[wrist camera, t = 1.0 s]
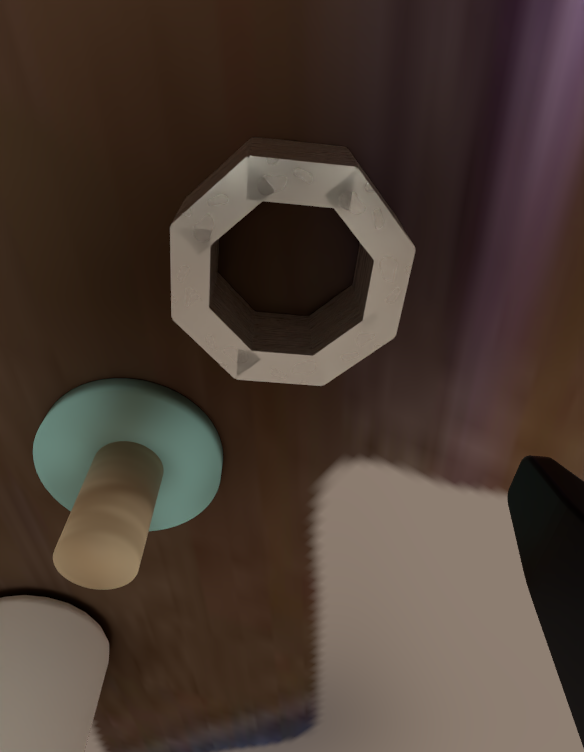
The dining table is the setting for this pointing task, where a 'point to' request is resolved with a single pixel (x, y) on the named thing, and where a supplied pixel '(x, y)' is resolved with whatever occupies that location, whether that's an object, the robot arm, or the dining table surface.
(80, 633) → the potion bottle
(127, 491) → the post
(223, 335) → the ring
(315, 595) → the dining table surface
